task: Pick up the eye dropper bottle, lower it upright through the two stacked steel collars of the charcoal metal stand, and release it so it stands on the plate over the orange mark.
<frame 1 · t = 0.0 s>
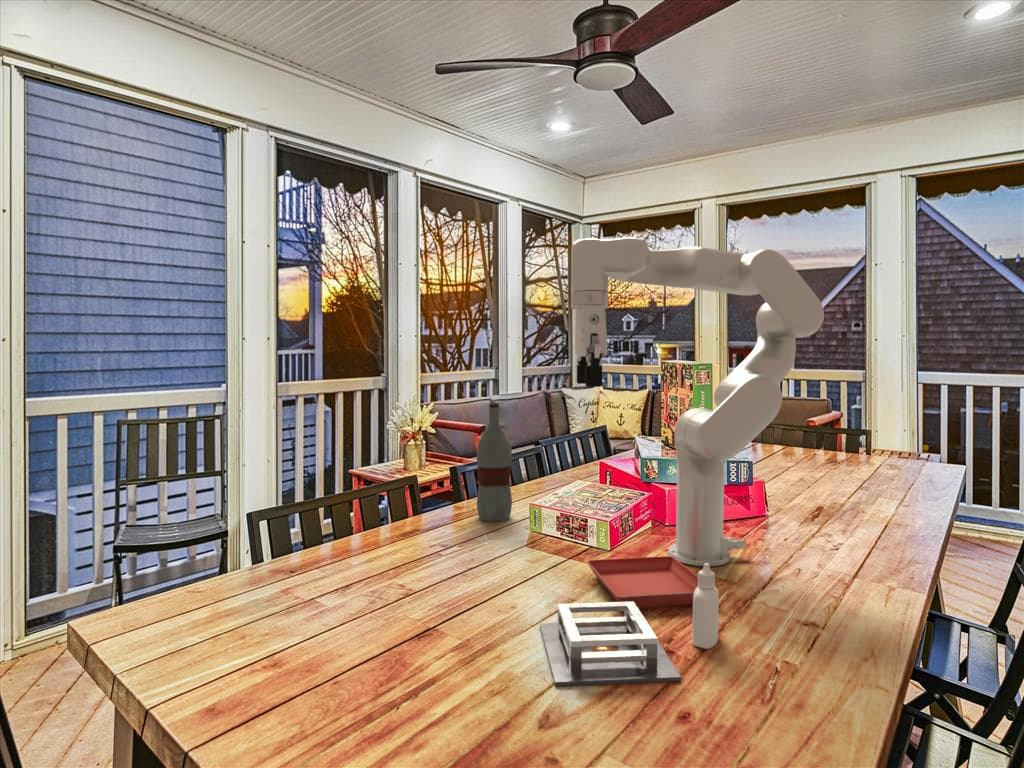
hand: (588, 384, 125), 37 cm above the table, tool pointing down, fingers open, 9 cm apart
plant saucer: (647, 592, 112), on the table
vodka: (494, 518, 159), on the table
collar stand: (604, 651, 89), on the table
eye dropper bottle: (705, 642, 92), on the table
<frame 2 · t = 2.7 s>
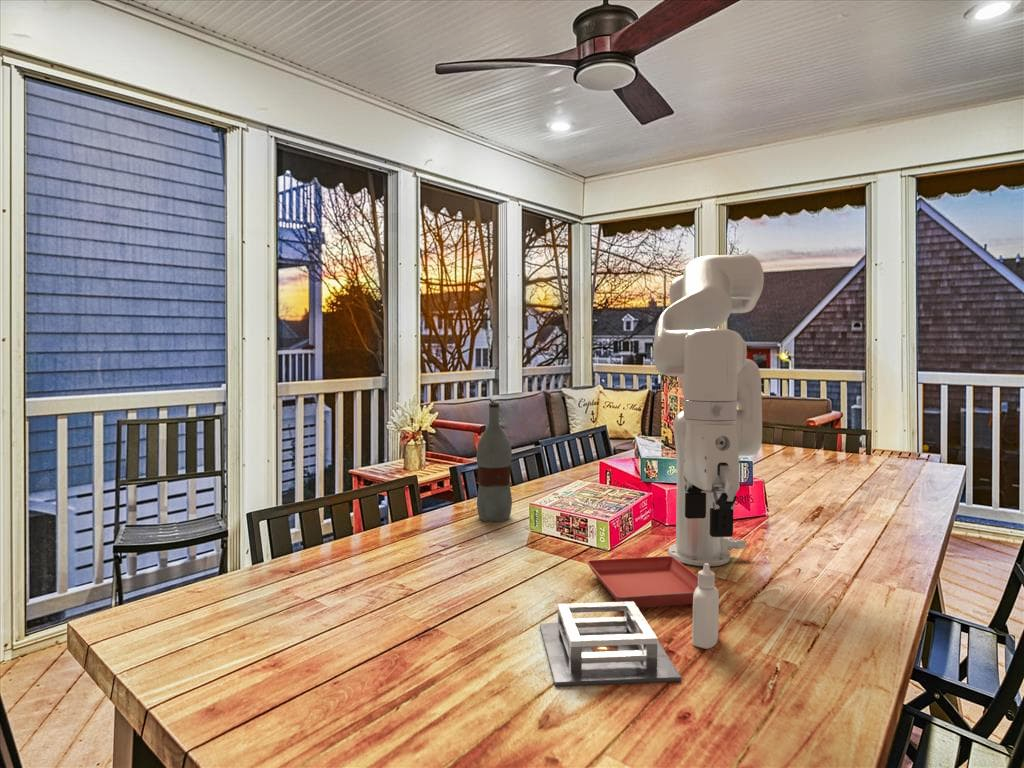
hand: (707, 526, 91), 18 cm above the table, tool pointing down, fingers open, 9 cm apart
nothing on the table moved.
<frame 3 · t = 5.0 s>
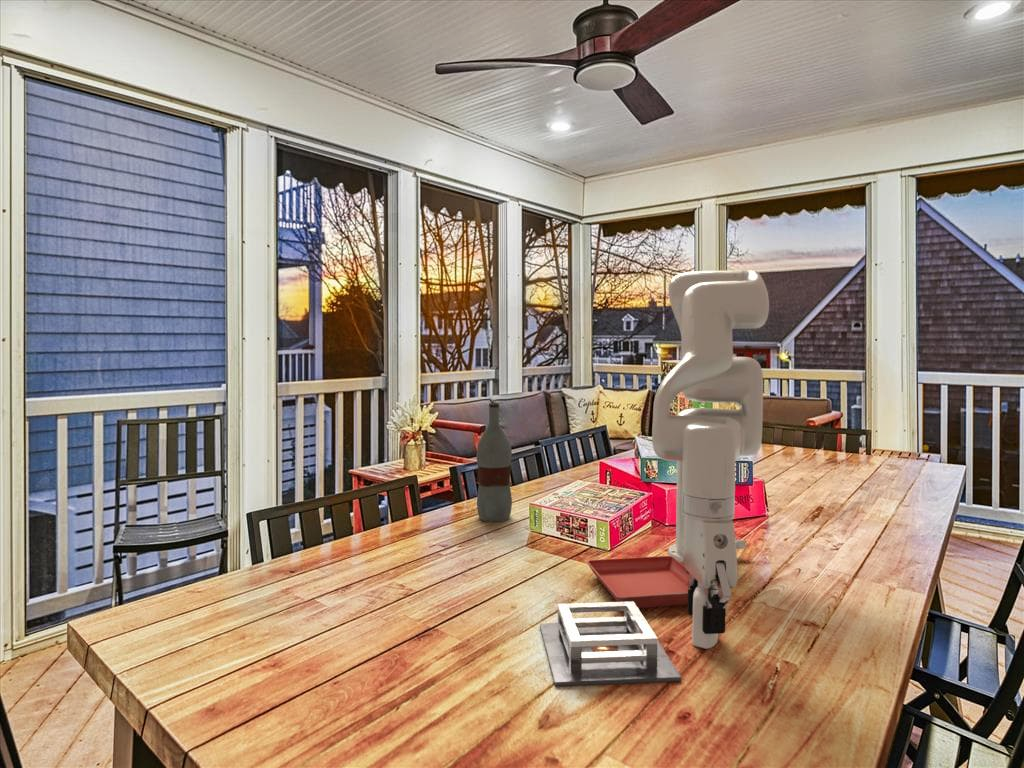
hand: (705, 622, 92), 3 cm above the table, tool pointing down, fingers closed on eye dropper bottle, 5 cm apart
eye dropper bottle: (705, 642, 92), on the table, touching gripper
everything else where it was.
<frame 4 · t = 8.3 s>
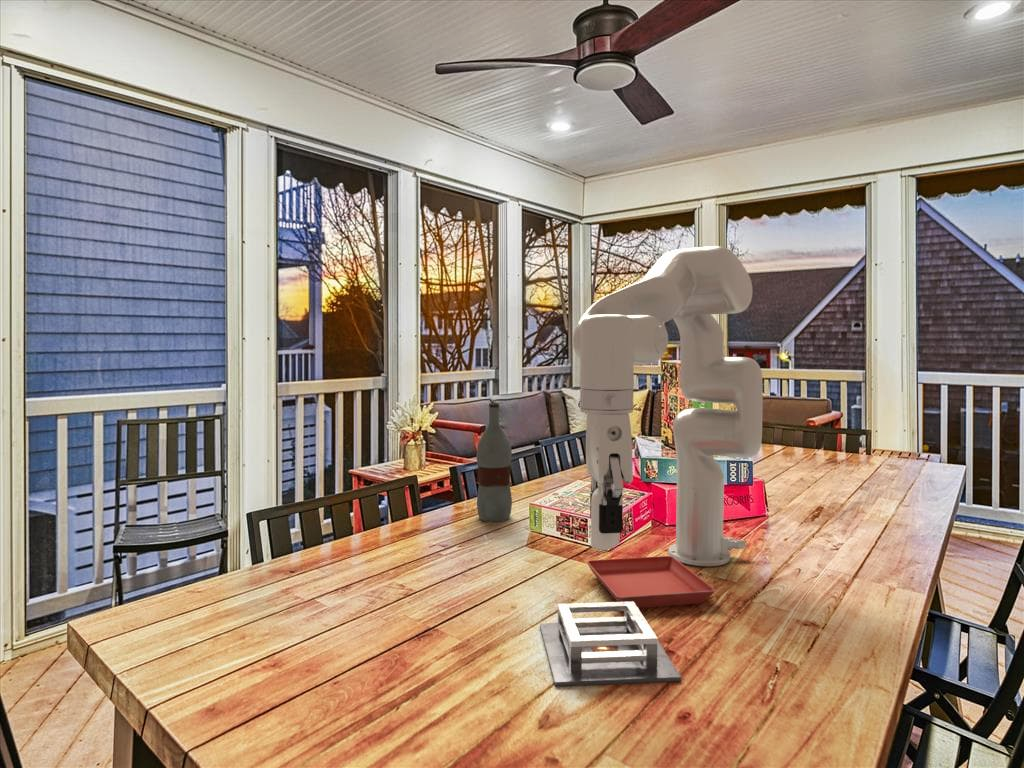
hand: (605, 524, 88), 19 cm above the table, tool pointing down, fingers closed on eye dropper bottle, 5 cm apart
eye dropper bottle: (605, 546, 88), point 16 cm above the table, touching gripper
everything else where it was.
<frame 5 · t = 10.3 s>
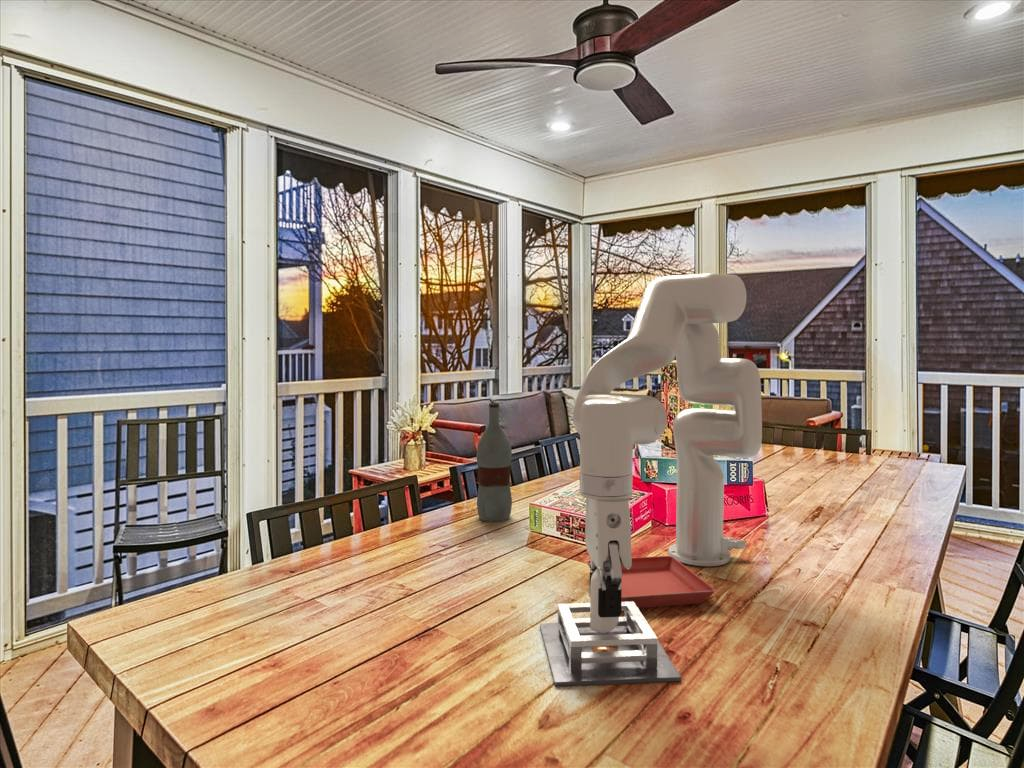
hand: (604, 605, 89), 7 cm above the table, tool pointing down, fingers closed on eye dropper bottle, 5 cm apart
eye dropper bottle: (604, 626, 89), point 4 cm above the table, touching gripper
everything else where it was.
when the fingers open (6 cm above the table, at t = 11.7 s): eye dropper bottle drops 2 cm, resting on collar stand.
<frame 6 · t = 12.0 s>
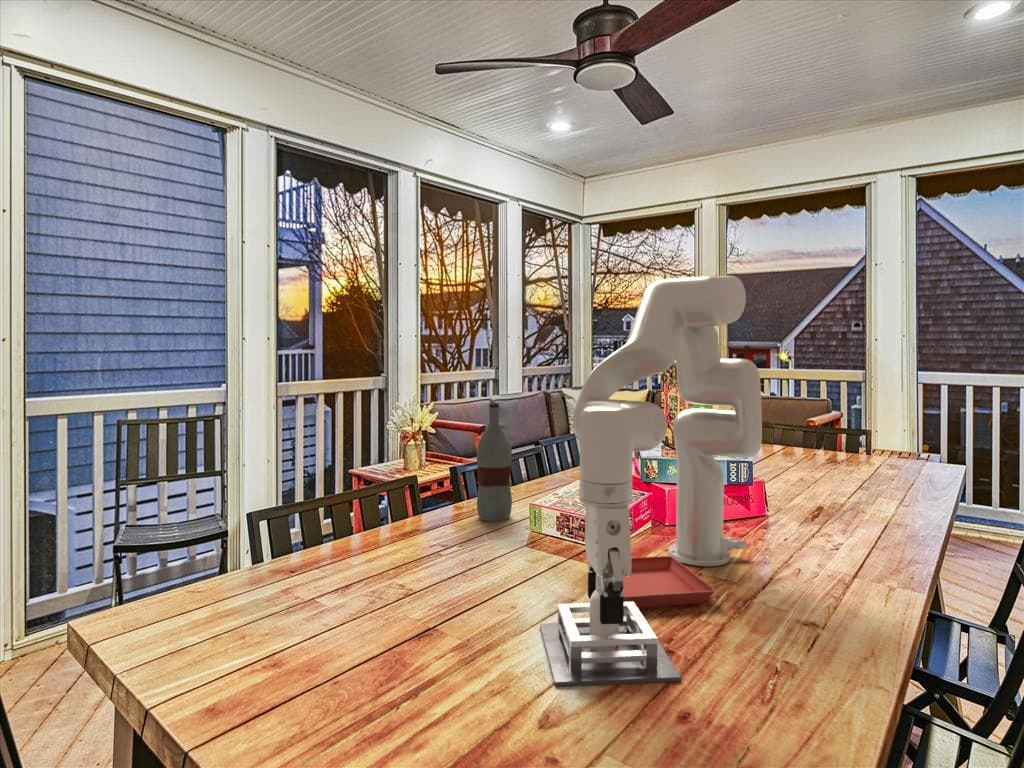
hand: (604, 609, 89), 6 cm above the table, tool pointing down, fingers open, 7 cm apart
eye dropper bottle: (604, 647, 89), point 1 cm above the table, touching collar stand
everything else where it was.
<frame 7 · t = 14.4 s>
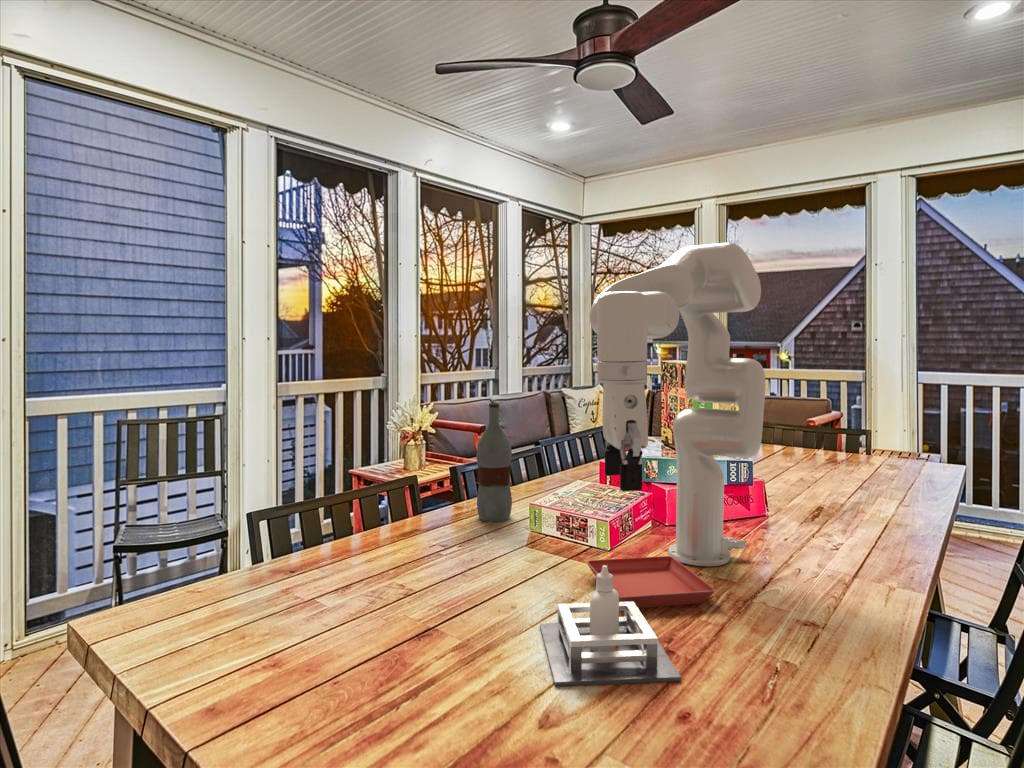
hand: (622, 482, 95), 24 cm above the table, tool pointing down, fingers open, 9 cm apart
nothing on the table moved.
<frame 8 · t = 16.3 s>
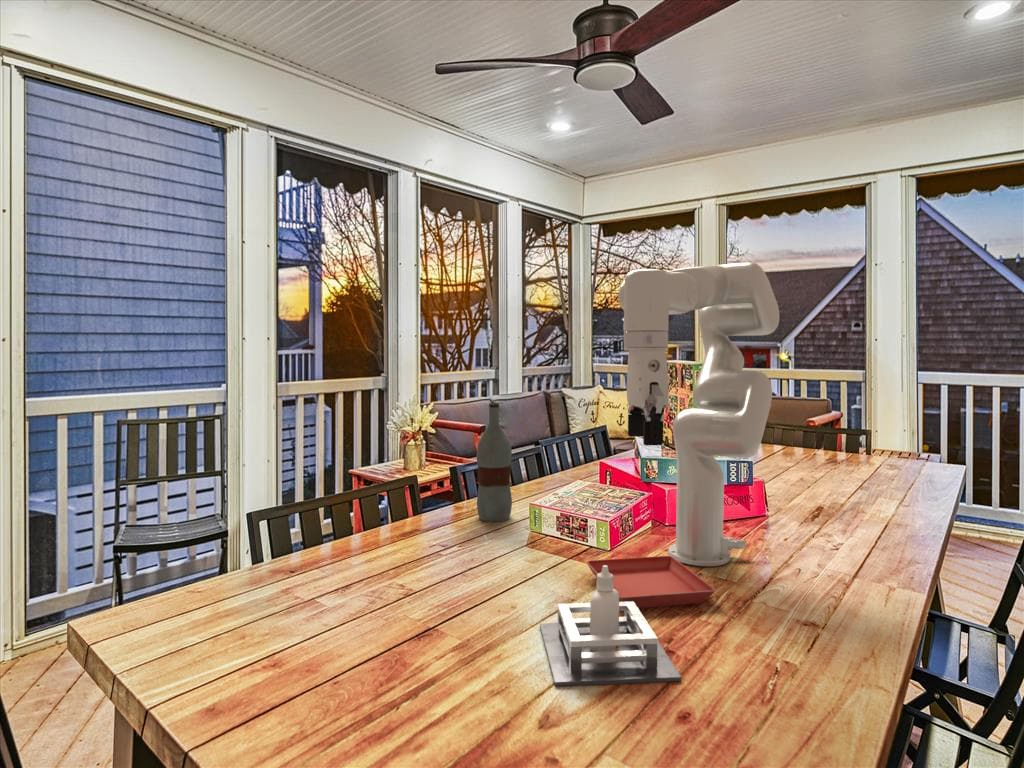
hand: (644, 440, 106), 28 cm above the table, tool pointing down, fingers open, 9 cm apart
nothing on the table moved.
at the end: eye dropper bottle 0.3 cm off-centre on the collar stand, point 0.5 cm above the collar stand's base; eye dropper bottle tilted 0°; the gripper is holding nothing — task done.
